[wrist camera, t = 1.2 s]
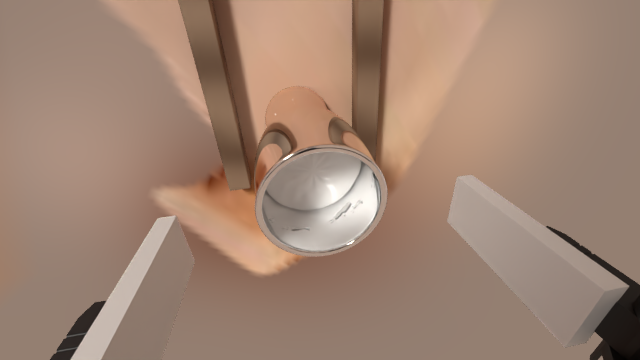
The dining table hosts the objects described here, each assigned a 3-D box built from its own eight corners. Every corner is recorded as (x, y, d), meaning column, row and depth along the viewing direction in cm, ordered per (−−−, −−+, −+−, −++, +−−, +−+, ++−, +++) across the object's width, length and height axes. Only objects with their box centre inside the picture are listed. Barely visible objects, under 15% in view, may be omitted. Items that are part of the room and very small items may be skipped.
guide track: (124, -232, 15) (92, -287, 12) (384, -222, 16) (406, -269, 14) (232, 181, 28) (228, 197, 25) (369, 164, 30) (378, 177, 27)
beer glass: (345, 105, 26) (420, 181, 13) (308, 162, 28) (341, 273, 15) (282, 65, 23) (297, 110, 10) (248, 131, 26) (225, 235, 13)
